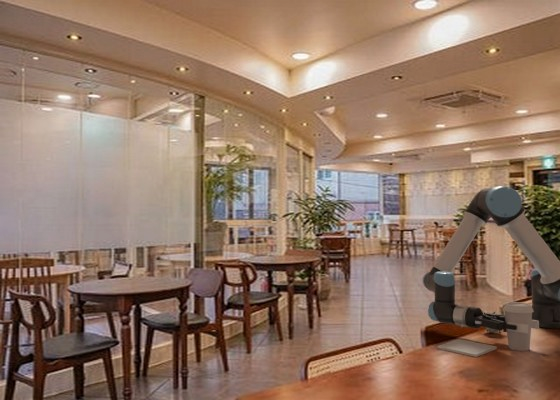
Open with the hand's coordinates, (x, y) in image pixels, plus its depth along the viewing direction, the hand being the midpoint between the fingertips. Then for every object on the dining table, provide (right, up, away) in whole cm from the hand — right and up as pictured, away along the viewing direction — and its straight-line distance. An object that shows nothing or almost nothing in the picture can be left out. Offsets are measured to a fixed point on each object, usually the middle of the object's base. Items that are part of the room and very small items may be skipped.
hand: (533, 326), depth 163 cm
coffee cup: (-3, -8, +3) cm, 9 cm away
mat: (-21, -8, +4) cm, 23 cm away
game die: (-3, -9, +25) cm, 26 cm away
